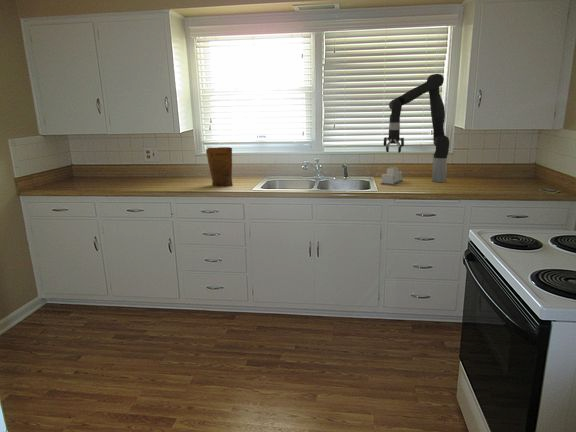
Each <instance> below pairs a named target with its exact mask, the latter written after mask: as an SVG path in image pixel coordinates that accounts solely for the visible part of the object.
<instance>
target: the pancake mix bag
mask: <svg viewBox="0 0 576 432" xmlns="http://www.w3.org/2000/svg"><path fill="white" fill-rule="evenodd" d="M205 153H206V158H207V163H208V168H209V172H210V176H211V181H212V184H211V185H212V186H213V187H233V185H234V184H233V148H232V147H227V146H226V147H225V146H224V147H222V146H221V147H207V149H206V150H205Z"/></svg>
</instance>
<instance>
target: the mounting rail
mask: <svg viewBox="0 0 576 432" xmlns="http://www.w3.org/2000/svg"><path fill="white" fill-rule="evenodd" d="M403 176H404V175H403V171H399V170H398V179H397V181H394V179H395V177H394V175H389V174H387V173H383V174H381V182H380V185H381V186H382V185H383V186H392V187H393V186H395V185H397V184H399V183H402V182H403V181H404V180H403Z"/></svg>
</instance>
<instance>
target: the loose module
mask: <svg viewBox="0 0 576 432" xmlns="http://www.w3.org/2000/svg"><path fill="white" fill-rule="evenodd" d="M398 171H399V168H398V167H395V166H394V167H393V166H391V167H388V168H386V174H389V175H394V177H395V179H394V181H397V179H398Z"/></svg>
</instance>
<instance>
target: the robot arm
mask: <svg viewBox="0 0 576 432" xmlns="http://www.w3.org/2000/svg"><path fill="white" fill-rule="evenodd" d="M444 80H445V79H444V76H443V75H442V74H440V73H434V74H430V75H429V76H428V77H427V79H426V81H425V82H423V83H422V84H420V85H418V86H415V87H414V88H412V89H410V90H408V91H407V92H405V93H403V94H402V95H399V96H398V97H396V98H395V97H394V99H392V100H391V101H390V102H389V103H388V108H389V109H390V110H391V113H390V114H389V122H388V123H389V124H388V137H387V136H386V137H383V147H385V151H386V153H389V150H390V147H389V146H390V145H393V144H396V145H397V146H398V149H397V151H398V153H401V151H402V147H404V146H405V138H404V137H400V134H401V113H402V110H403V109H402V106H404V105H407V104H409V103H411V102H412V101H414V100H415V99H418V98H419V97H421V96H422V95H425V94H426V93H428V96H429V105H430V106H429V107H430V115H431V123H432V124H431V125H432V130H433V135H432V136H433V139H432V140H433V141H432V142H433V145H434V147H435V151H434V153H433V161H432V172H431V173H432V175H431V182H433V183H445V182H447V173H448V168H447V165H448V164H447V163H448V155H449V152H450V151H449V150H450V139H449V138H450V137H448V136H447V135H446V134H445V129H444V127H445V125H444V124H445V122H446V121H445V120H446V111H445V110H446V109H445V104H444V102H443V99H442V96H441V94H440V93H441V91H440V87H441V86H442V85H443V84H444Z"/></svg>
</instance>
